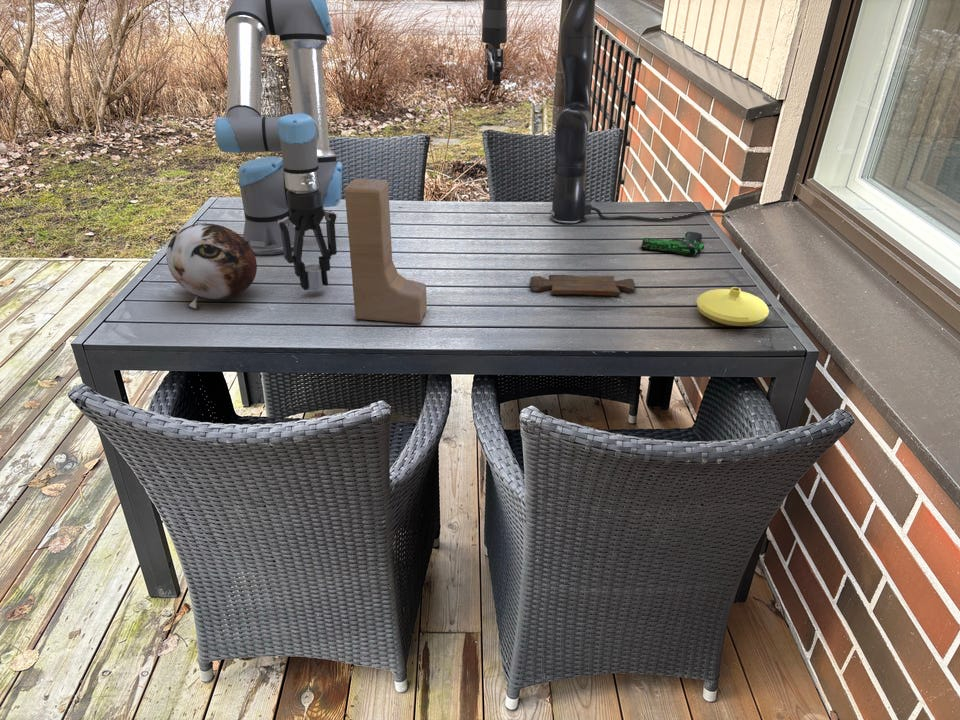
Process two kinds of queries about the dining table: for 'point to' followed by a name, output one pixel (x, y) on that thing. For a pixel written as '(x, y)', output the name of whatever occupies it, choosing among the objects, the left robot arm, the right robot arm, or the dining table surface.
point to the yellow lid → (732, 307)
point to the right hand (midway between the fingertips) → (493, 82)
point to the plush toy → (211, 261)
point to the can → (314, 277)
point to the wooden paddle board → (581, 285)
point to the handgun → (676, 244)
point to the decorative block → (378, 258)
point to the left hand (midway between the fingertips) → (314, 285)
